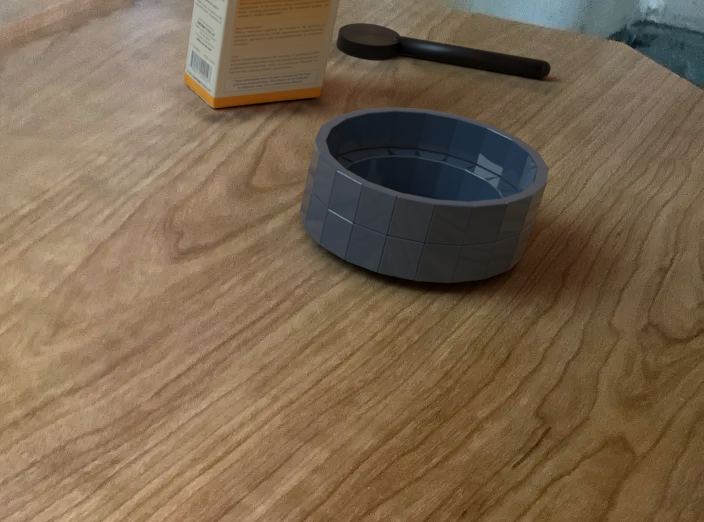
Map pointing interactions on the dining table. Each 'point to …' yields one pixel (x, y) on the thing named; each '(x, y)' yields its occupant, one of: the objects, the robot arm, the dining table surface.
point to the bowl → (422, 194)
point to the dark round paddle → (431, 51)
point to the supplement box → (259, 50)
